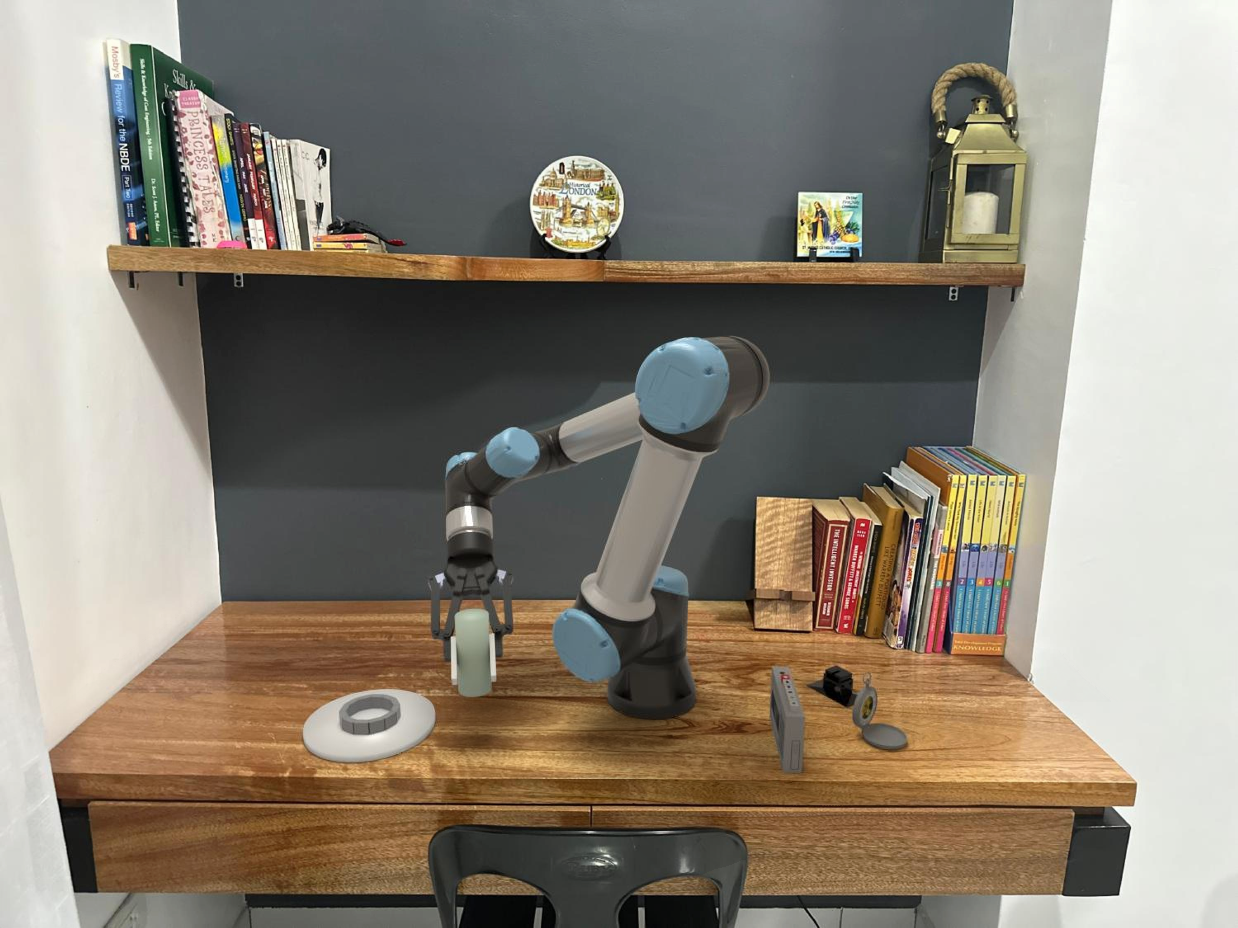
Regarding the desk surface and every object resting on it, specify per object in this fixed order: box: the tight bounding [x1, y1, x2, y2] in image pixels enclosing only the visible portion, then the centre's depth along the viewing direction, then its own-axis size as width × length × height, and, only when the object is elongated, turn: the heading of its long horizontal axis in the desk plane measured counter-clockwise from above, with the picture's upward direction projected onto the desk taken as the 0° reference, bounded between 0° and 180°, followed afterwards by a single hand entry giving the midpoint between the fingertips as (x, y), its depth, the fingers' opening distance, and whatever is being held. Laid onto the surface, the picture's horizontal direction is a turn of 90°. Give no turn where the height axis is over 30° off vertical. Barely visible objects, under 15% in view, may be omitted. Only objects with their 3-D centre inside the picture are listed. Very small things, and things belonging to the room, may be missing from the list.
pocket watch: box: [851, 671, 908, 750], centre depth 124 cm, size 8×8×10 cm
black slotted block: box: [805, 665, 859, 709], centre depth 139 cm, size 12×7×5 cm, turn 33°
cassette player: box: [768, 665, 806, 774], centre depth 122 cm, size 16×3×10 cm, turn 177°
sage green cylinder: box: [454, 608, 493, 698], centre depth 120 cm, size 5×5×12 cm
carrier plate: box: [302, 688, 436, 764], centre depth 126 cm, size 20×20×3 cm
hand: (474, 679), depth 117 cm, fingers closed on sage green cylinder, 5 cm apart
